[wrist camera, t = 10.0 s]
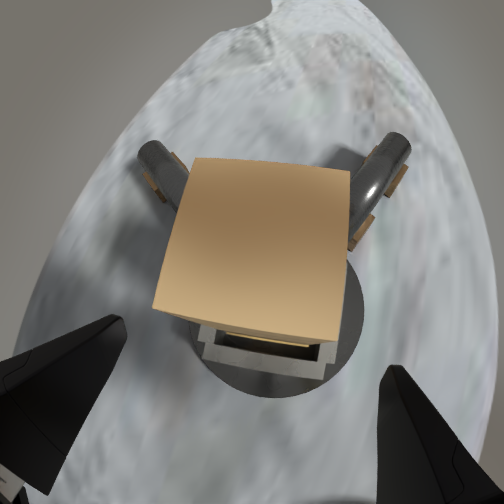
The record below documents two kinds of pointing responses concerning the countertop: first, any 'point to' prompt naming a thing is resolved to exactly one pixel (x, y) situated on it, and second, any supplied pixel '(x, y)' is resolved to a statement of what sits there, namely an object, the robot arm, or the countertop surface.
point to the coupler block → (259, 250)
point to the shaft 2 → (375, 183)
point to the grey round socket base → (282, 353)
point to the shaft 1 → (163, 172)
